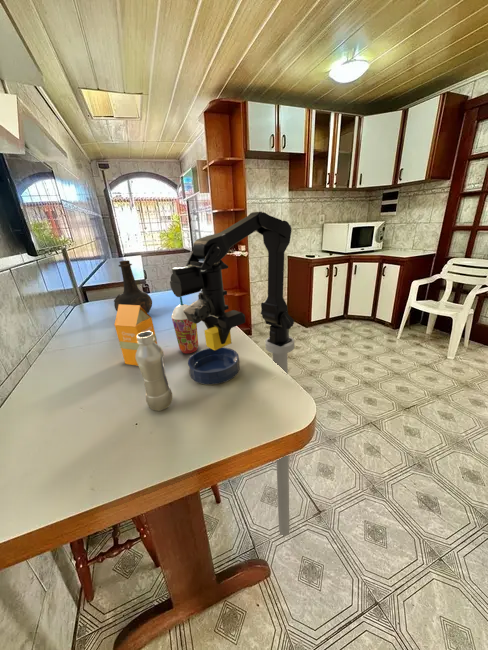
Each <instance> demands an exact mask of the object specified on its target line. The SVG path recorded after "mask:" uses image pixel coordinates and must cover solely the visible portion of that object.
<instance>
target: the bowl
mask: <svg viewBox="0 0 488 650" xmlns="http://www.w3.org/2000/svg"><path fill="white" fill-rule="evenodd" d="M187 368H188V374H189V376H190V379H191V380H192V381H194V382H195V383H197V384H201V385H218V384H222V383H226V382H228V381H230V380H232V379H234V378H235V377H236V376H237V375H238V374H239V373H240V370H241V366H240V356H239V353H238V352H237V351H236V350H234V349H233V348H229V347H226V346H224V347H222V348H219V349H217V350H213V349H211V348H209V347H207V348H204V349H201V350H199V351H195V352H194V353H193V354H191V356H190V357H189V358H188V360H187Z"/></svg>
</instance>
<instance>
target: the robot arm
mask: <svg viewBox="0 0 488 650" xmlns="http://www.w3.org/2000/svg"><path fill="white" fill-rule="evenodd" d="M254 232H256V233H258V234H260V235H262V239H263V244H264V247H265V248H266V250H267V298H266V299H265V301H264V302H263V301H262V302H261V304H260V307H261V308H260V309H261V310H260V315H261V317H262V319H263V320H264V321H265V322H264V323H265V325H269V331H268V333H269V334H268V335H269V337H270V339H268V340H267V342H270V343H272V344H275V345H277V346H283V345H285V344H287V343H289V342H291V341H292V339H291V338H289V336H290V330H291V328H292V327H293V326H294V323H295V319H294V318H293V317H292V316H291V315H289V309H288V304H287V302H286V301H285V298H284V276H285V253H286V250H287V248H288V246H290V243H291V236H292V226H291V224H290V223H289V222H288V221H287V220H282V219H280V218H277V217H276V216H275V217H274V216H272V215H270V214H268V213H267V212H264V211H254V212H253V211H252V212H250V213H249V214H248V215H247V216H245V217H244V218H242V219H240V220H238V221H237V222H235V223H234V224H231V225H230V226H228V227H227V228H225V229H224V230H222V231H220V232H217V233H213V234H209V235H206V236H203V237H199V238H197V239H196V240H195V241H194V242H193V244H192V250H191V251H192V252H191V253H190V256H189V258H188V260H187V263H186V265H185V266H183V267H182V266H181V267H173V268H172V269H171V272H172V273H171V275H170V281H169V285H170V288H171V292H172V293H173V295H174V296H175V297H177V298H180V297H185V296H189V295H193V294H197V293H198V295H197V297H198V299H197V300H195V301H193V302H192V303H191V304H188V305H189V306H188V307H187V308H185V309H184V310H183V312H184V313H185V315H186V317H187V319H188V320H189V321H191V322H193V323H195V324H197V325H198V324H200V323H201V322H202V323H204V325H205V327H206V330H207V329H209V328H212V327H217V328H218V332H219V337H220V341H221V344H224V343H225V342H226V340H227V337H228V335H229V332H230V333H231V331H232V329H233V328H235V327H238V326H240V325H243V324H245V323H246V315H245V314H244V313H243V312H242V311H239V310H235V309H232V310H229V305H228V304H226V301H225V296H226V295H228V290H225V289H224V283H223V272H222V270H227V269H229V265H227V264H226V263H225V262H224V261H223V260H222V259H223V258H224V257H225V256H227V255H228V253H229V252H230V249H232V247H233V246H235V245H236V244H237V243H239V242H241V241H243V240H244V239H245V238H247V237H249V236H250V235H251V234H253V233H254ZM227 310H228V311H227ZM226 311H227V312H226Z"/></svg>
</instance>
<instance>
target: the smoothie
mask: <svg viewBox="0 0 488 650" xmlns="http://www.w3.org/2000/svg"><path fill="white" fill-rule="evenodd" d="M179 302H180V304H178V305H177V306H175V307H174V308H173V310H172V314H171V316H170V318H171V320H172V324H173V328H174V333H175V336H176V340H177V344H178V348H179V350H180V351H181V352H182V354H192V353H193V354H194V353H196V352H197V351H198V347H199V335H198V323H197V324H195V323H193V322H191V321H189V320H188V319H187V317H186V315H185V313H184V312H183V310H184V309H185V308H187V307H188V306H189V305H190V304H185V303H183V296H181V297H179Z"/></svg>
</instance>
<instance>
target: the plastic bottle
mask: <svg viewBox="0 0 488 650" xmlns="http://www.w3.org/2000/svg"><path fill="white" fill-rule="evenodd" d="M137 340H138V341H137V342H138V344H139V347H138V349H137V352H136V357H135V358H136V361H137V364H138V368H139V370H140V373H141V377H142V379H143V382H144V389H145V401H146V404H147V406H148V408H149V409H151V410H152V411H157V412H158V411H159V412H160V411H162V410H163V411H164V410H165V409H167V408H168V407H170V406H171V404H172V403H173V399H174V398H173V392H172V389H171V387H170V385H169V381H168V378H167V374H166V368H165V357H164V356H165V355H164V351H163V349H162V347H161V346H160V345H159V344H158V343H157V344H156V343H155V342H154V341H155V338H154V336H153V333H152V332H150V331H146V332H142V333H139V334H138V335H137Z"/></svg>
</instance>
